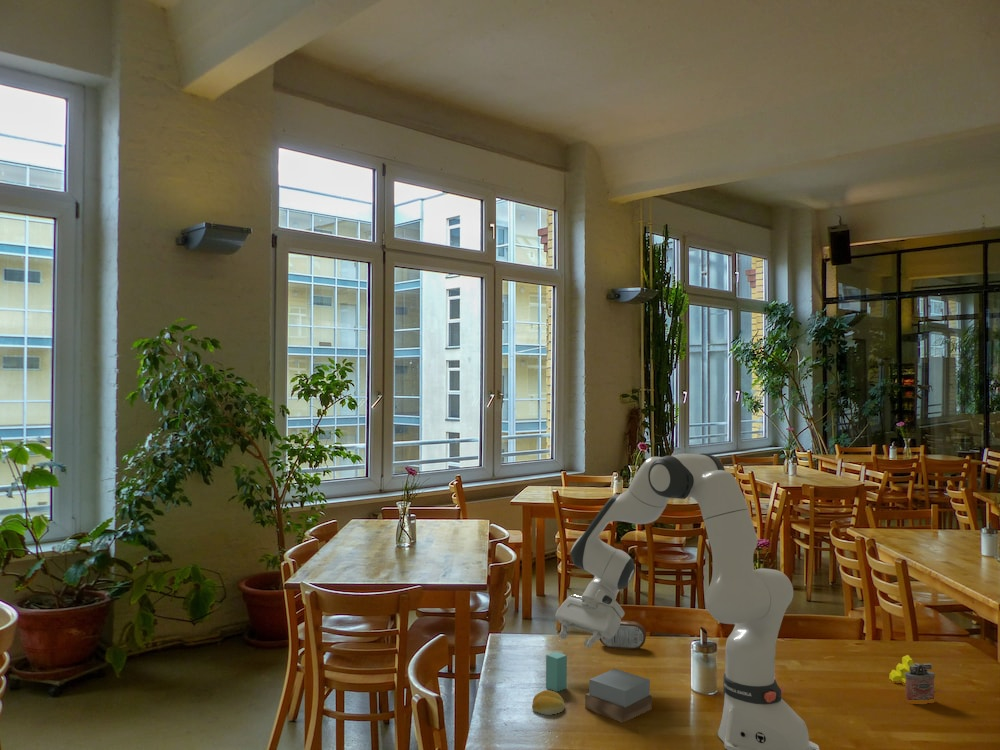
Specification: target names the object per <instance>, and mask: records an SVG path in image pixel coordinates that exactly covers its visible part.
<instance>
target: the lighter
mask: <svg viewBox="0 0 1000 750" xmlns="http://www.w3.org/2000/svg"><path fill="white" fill-rule="evenodd" d="M914 663H915V664H914V665H910V672H906V673H905V677H906V686H905V697H906V699H908V700H929V699H934V698H935V678H936V673H934V672H932V671H929V670H933V665H932V664H931V663H922V664H920V663H918V662H914Z"/></svg>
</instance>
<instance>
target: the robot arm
mask: <svg viewBox="0 0 1000 750" xmlns="http://www.w3.org/2000/svg"><path fill="white" fill-rule="evenodd" d="M632 478H633V479H632V480H631V482H630V484H629V486H628V488H627V489H626V490H625V491H624V492H622V493H621V494H619V493H618V494H617V493H615V494H613V495H612V496H611V497H610V498H608V500H607V502H606V503H605V504H604V505H603V506H602V508H600V510H599V512H598V513H597V514H596V515H595V517H594V518H593V520H592V521H591V523H590V524H589V525H588V527H587V528H586V530H585V531H584V532H583V533H582V534H581V535H580V536H579V537H577V539H576V540H575V541H574V543H573V545H572V546H571V550H570V553H569V556H570V558H571V561H572V563H573V565H574V566H575V567H577V568H578V569H581V570H583V571H586V572H588V573H589V574H591V575H593V579H592V580H591V581H590V582H589V583H588V585H587V586H586V588H585V590H584V592H583V593H582V595H578V594H575V593H574V594H572V595H568V597H566V599H565V600H564V601H563V602H562V604H561V605H560V606H559V607H558V609H557V610H556V612H555V618H556V620H557V621H558V622H559V623H560V627H561V628H560V632H559V634H558V637H559V638H560V639H561V640H566V639H567V637H568V633H567V630H568V629H569V628H570V627H572V628H575V629H577V630H581V631H585V632H588V633H590V634H592V635H591V636H590V637H589V638H585V641H584V643H583V644H584V646H585V647H586V648H588V649H591V648H592V646H593V645H594V644H595V643H596V642H598V641H600V637H601V636H602V637H605V638H609V639H611V638H612V637H614V636H615V634H616V632H617V630H618V628H619V626H620V623H621V621H622V619H623V617H624V616H625V614H626V613H625V611H624V609H623V608H622V606H621V605H620V604H619V602H618V601H617V600H616V599H617V597H618V596H617V595H618V593H619V592H620V591H621V590H624V589H627V588H628V585H629V583H630V581H631V580H632V577H633V576H634V575H635V572H636V565H635V563H634V562H635V561H634V560H633V558H632V557H631V556H630V555H629V554H628V553H627V552H625V551H624V550H622V549H619V548H615V547H613V546H612V545H610V544H608V543H606V542H604V541H603V540H602V539H601V538H600V535H601V534H602V533H603V531H604V530H605V528H606V527H607V525H608V524H609V523H611V522H624V523H630V524H634V525H635V524H636V525H646V524H647V525H648V524H651V523H653V522H655V521H657V520H658V519H659V518H660V517H661V515H662V514H663V512H664V510H665V509H666V508H667V505H668V502H669V501H670V499H680V500H686V499H687V498H692V499H694V500H695V501H696V502H697V503H698V507H699V509H700V513H701V517H702V520H703V523H704V527H705V530H706V534H707V538H708V541H709V545H710V549H711V556H712V557H711V558H712V572H711V573H712V574H711V580H710V583H709V585H708V588H707V589H706V591H705V604H706V605H705V606H706V608H707V610H708V612H709V614H710V615H711V616H712V618H713V619H714V620H715V621H717V622H719V623H721V624H724V625H725V624H727V625H734V627H733V629H732V631H731V633H730V634H729V635H728V637H727V639H726V643H725V672H724V674H723V681H722V682H723V683H722V684H723V688H722V690H723V696H724V699H723V700H724V701H723V709H722V714H721V715H722V716H721V720H720V725H719V728H718V731H717V736H718V737H719V739H720V740H721V741H722V742H723V746H724V749H726V750H820V747H819V745H818V744H817V743H815V742H813V741H811V740H810V737H809V736H810V735H809V730H808V727H807V724H806V722H805V721H804V720H803V718H801V716H800V715H798V713H796V712H795V710H793V708H792V707H791V706H790V705H789V704H788V703H787V702H786V701H785V700H784V699H783V698H782V697H783V696H782V693H783V692H785V691H786V690H785V688H786V686H785V685H783V686H782V687H780V686H779V685H778V683H777V680H776V679H775V665H776V663H775V662H776V647H777V640H778V636H779V633H780V629H781V625H782V621H783V620H784V619H783V618H784V615H785V613H786V611H787V609H788V607H789V606H790V604H791V603H792V601H793V599H794V587H793V583H792V581H791V580H790V578H789V577H788V576H787V575H786V574H785V573H784V572H782V571H780V570H778V569H773V568H764V567H763V568H757V569H754V554H755V550H756V548H757V546H758V542H759V541H758V540H759V539H758V535H757V532H756V529H755V526H754V524H753V523H754V522H753V520H752V517H751V513H750V509H749V507H748V503H747V501H746V498H745V496H744V494H743V492H742V490H741V486H740V485H739V483H738V481H737V479H736V478H735V476H734V475H733V474H732V473H731V472H729V471H727V470H726V469H725V466H724V464H723V463H722V461H721V460H720V459H719V457H717V456H716V455H715V456H714V455H711V454H709V453H698V454H697V453H686V452H685V453H679V454H673V455H665V456H651V457H648V458H647V459H645V460H644V462H643V463H642V464H641V466H640V467H639V468H638V470H637V471H636V473H635V475H634V476H633V477H632Z"/></svg>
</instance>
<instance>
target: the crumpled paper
mask: <svg viewBox="0 0 1000 750" xmlns="http://www.w3.org/2000/svg"><path fill="white" fill-rule="evenodd" d="M915 663H916V662H914V661H913V659H912V657H911V656H910V655H909V654H906V655H904V656H902V658H901V663H900V662H899V663H898V664H897V665H896V667H895V668H896V669H891V672H889V674H888V675H889V676H888V677H889V678H888V679H891V680H892V681H899V680H900V681H902V682H904V683H906V677H905V673H906V672H910V665H914V664H915Z"/></svg>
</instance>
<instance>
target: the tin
mask: <svg viewBox="0 0 1000 750" xmlns="http://www.w3.org/2000/svg"><path fill="white" fill-rule="evenodd" d="M646 638H647V632H646V629H645V627H644V626H643V625H642V624H641V623H639V622H638V621H633V620H621V623H620V626H619V628H618V630H617V632H616V634H615V636H614V637H612V638H611V639H609V638H605V637H602V636H601V637H600V639H599V641H600V643H601V644H602V645H603V646H605V647H607V648H611V649H625V650H638V649H640V648H641V647H642V646H644V644H645V642H646Z"/></svg>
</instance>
